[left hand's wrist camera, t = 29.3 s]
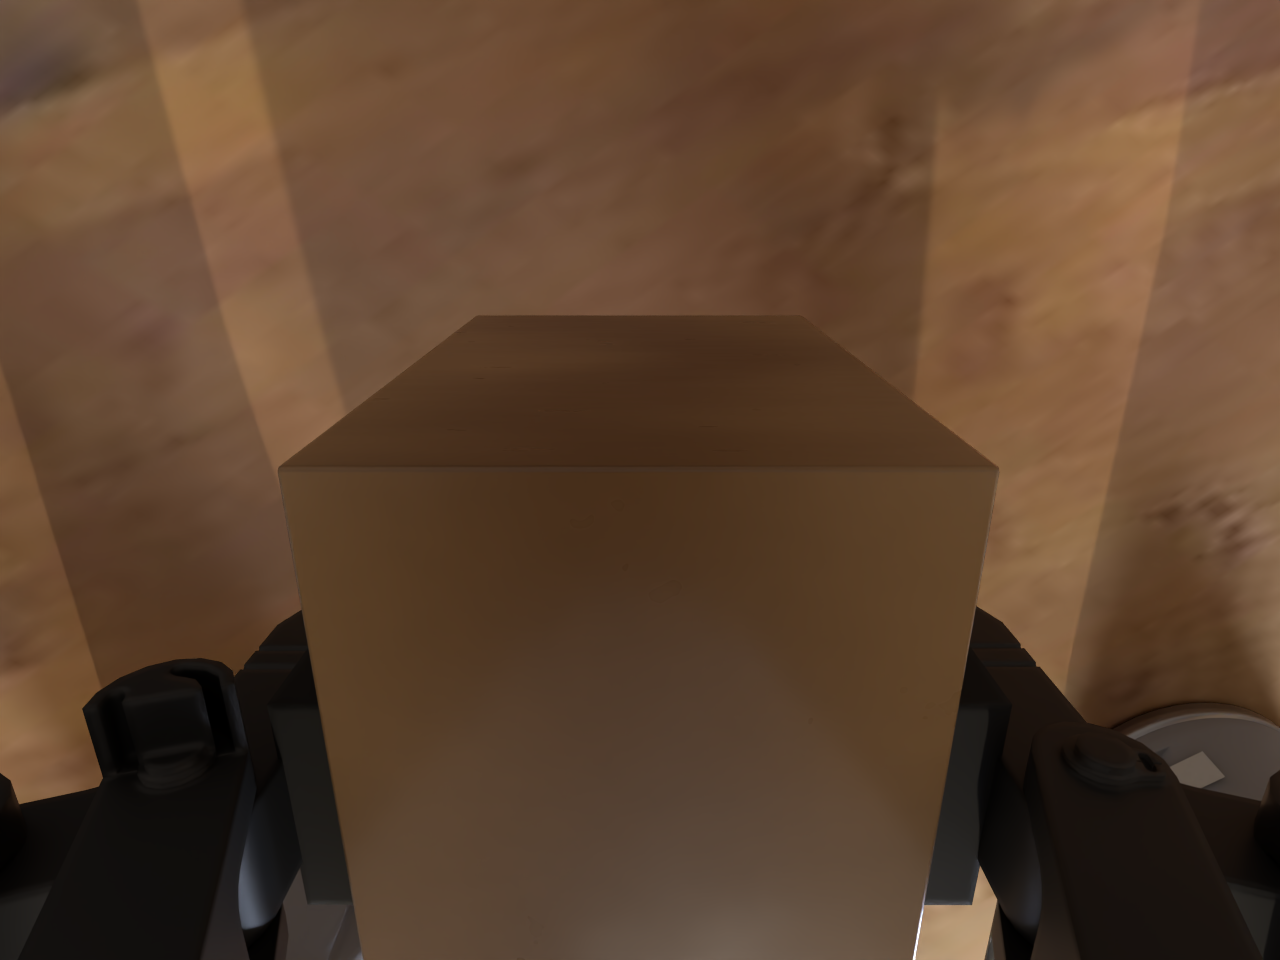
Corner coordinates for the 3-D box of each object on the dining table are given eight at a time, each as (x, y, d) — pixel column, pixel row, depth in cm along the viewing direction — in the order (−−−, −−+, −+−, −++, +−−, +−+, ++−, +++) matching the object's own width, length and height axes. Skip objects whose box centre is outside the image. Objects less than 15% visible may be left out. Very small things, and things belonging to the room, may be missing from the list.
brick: (802, 315, 14) (1002, 466, 6) (775, 681, 17) (892, 1099, 9) (475, 315, 14) (274, 467, 6) (502, 682, 17) (385, 1100, 9)
